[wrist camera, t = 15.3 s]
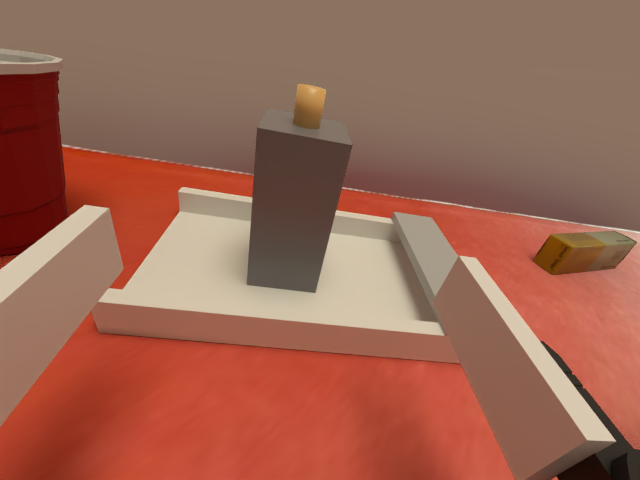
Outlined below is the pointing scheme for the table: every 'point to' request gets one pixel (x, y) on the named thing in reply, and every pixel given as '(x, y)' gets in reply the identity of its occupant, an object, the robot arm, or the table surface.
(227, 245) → the tray
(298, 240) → the grey bottle with cork
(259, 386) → the table surface
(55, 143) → the plastic cup
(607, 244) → the medication box
